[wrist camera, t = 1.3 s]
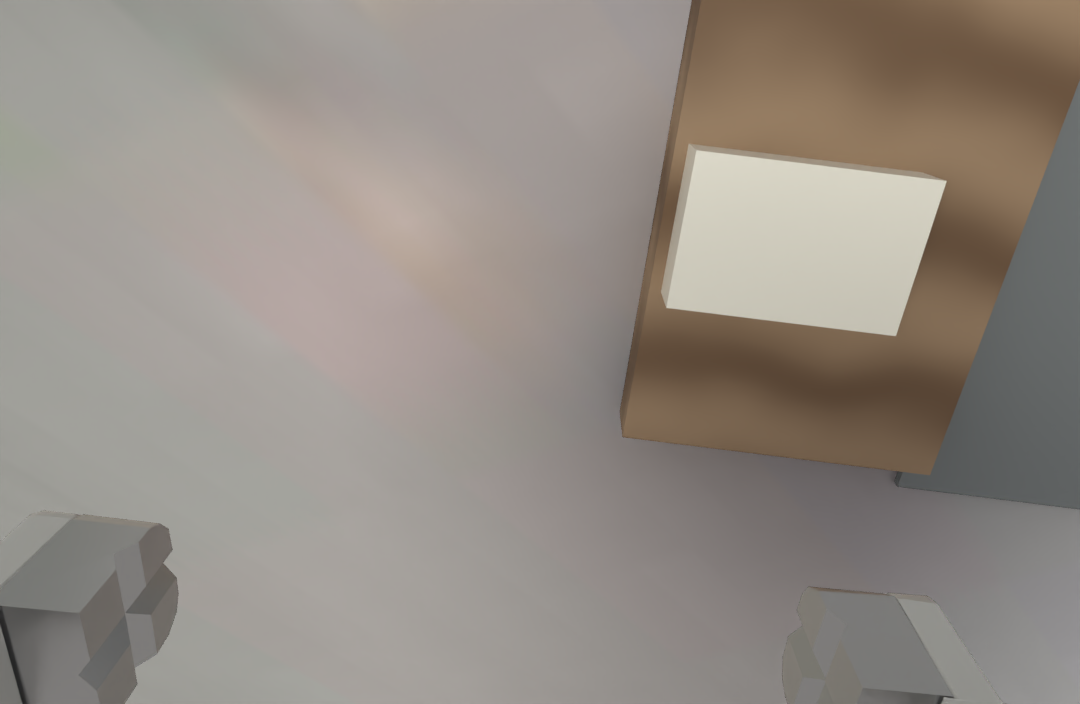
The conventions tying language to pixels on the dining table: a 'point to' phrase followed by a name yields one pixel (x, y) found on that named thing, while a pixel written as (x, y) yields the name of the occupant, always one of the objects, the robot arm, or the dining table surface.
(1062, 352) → the mat
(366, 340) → the dining table surface
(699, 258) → the white flat block
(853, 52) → the wooden board
